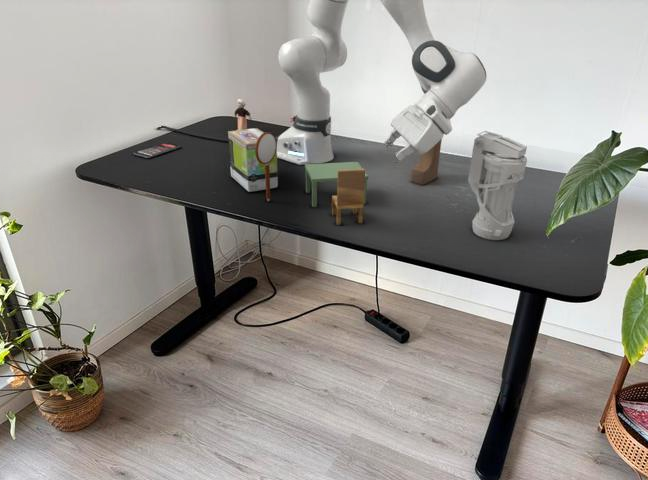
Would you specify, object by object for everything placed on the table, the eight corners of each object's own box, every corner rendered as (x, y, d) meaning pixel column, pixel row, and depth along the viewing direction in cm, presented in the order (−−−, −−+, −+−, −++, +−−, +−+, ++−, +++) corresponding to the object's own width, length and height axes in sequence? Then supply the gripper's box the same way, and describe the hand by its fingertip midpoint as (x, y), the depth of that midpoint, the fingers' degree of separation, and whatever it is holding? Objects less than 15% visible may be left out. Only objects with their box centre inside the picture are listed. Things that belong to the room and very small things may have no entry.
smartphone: (180, 145, 192) (147, 156, 181) (181, 147, 192) (147, 158, 181) (166, 141, 195) (132, 152, 184) (166, 143, 196) (132, 154, 184)
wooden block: (422, 185, 170) (428, 128, 160) (410, 181, 172) (416, 125, 163) (437, 178, 176) (444, 122, 166) (425, 174, 178) (431, 120, 169)
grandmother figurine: (232, 132, 210) (229, 99, 204) (235, 129, 214) (233, 97, 207) (251, 134, 209) (249, 100, 203) (254, 131, 213) (252, 98, 206)
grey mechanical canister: (517, 231, 144) (537, 139, 131) (500, 244, 137) (520, 148, 124) (473, 217, 151) (488, 128, 138) (455, 229, 144) (469, 136, 131)
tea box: (279, 187, 164) (277, 139, 156) (248, 193, 159) (245, 144, 152) (259, 171, 175) (257, 126, 167) (230, 176, 170) (226, 130, 163)
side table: (305, 191, 162) (304, 164, 158) (356, 188, 166) (357, 161, 161) (312, 207, 152) (312, 179, 148) (366, 204, 156) (368, 176, 151)
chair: (331, 214, 149) (332, 161, 141) (356, 212, 151) (358, 160, 143) (337, 225, 143) (338, 171, 136) (362, 223, 145) (365, 169, 137)
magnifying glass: (275, 195, 159) (273, 128, 148) (280, 197, 158) (277, 129, 148) (256, 205, 152) (252, 135, 142) (261, 207, 151) (257, 136, 141)
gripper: (410, 93, 141) (372, 131, 144) (439, 114, 124) (395, 156, 127) (424, 110, 144) (387, 147, 147) (455, 132, 127) (411, 174, 130)
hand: (391, 152), depth 137 cm, fingers open, 8 cm apart
